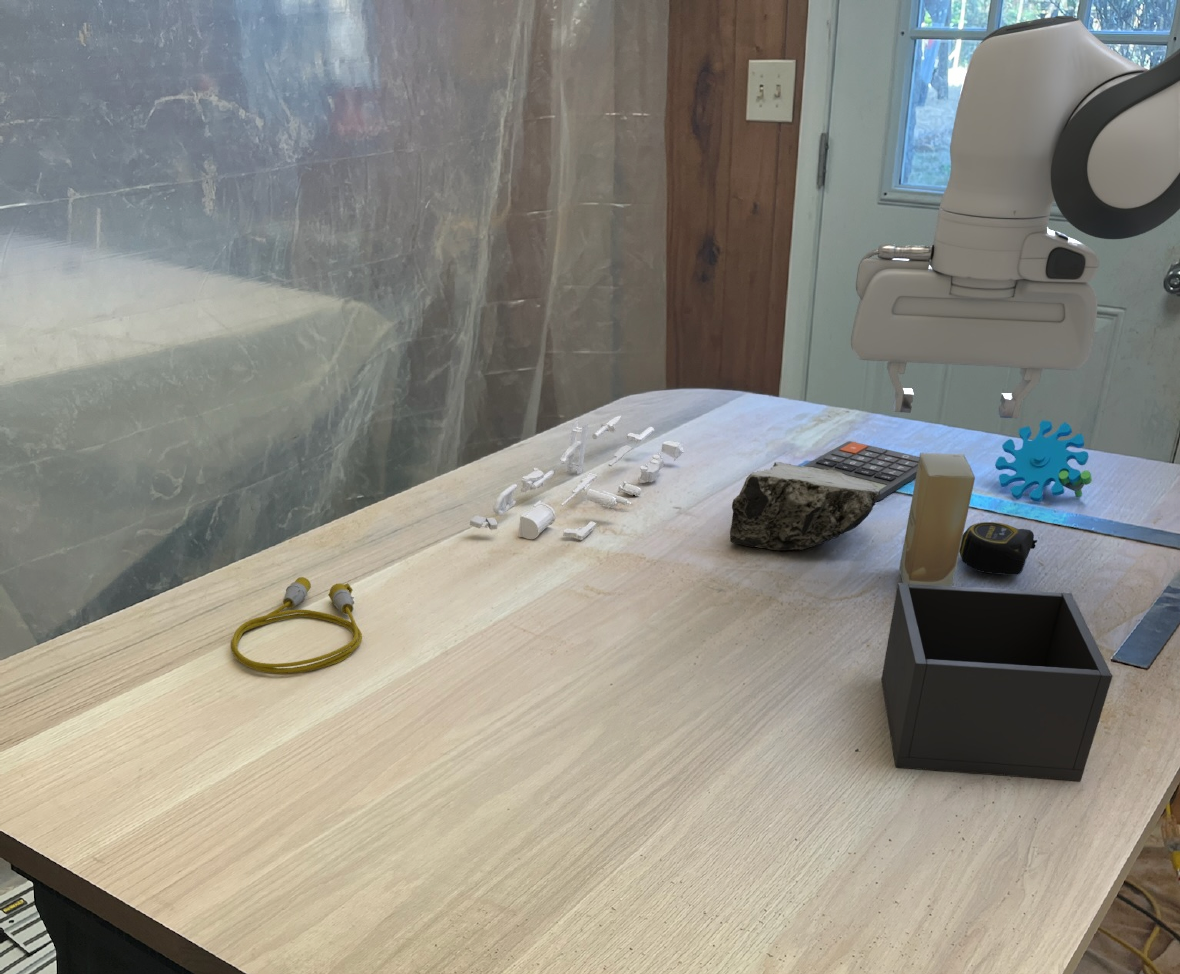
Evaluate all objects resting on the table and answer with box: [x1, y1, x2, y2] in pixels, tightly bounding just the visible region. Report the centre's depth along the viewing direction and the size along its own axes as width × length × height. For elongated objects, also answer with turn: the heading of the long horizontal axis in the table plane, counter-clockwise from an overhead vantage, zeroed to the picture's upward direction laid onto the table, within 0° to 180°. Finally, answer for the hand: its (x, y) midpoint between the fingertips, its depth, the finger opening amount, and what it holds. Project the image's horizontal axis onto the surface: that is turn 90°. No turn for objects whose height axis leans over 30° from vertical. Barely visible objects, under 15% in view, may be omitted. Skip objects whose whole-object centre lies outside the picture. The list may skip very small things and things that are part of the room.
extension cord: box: [230, 576, 363, 675], centre depth 104 cm, size 12×16×2 cm
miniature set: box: [469, 415, 685, 541], centre depth 132 cm, size 6×35×12 cm
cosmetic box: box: [898, 452, 976, 586], centre depth 111 cm, size 6×4×12 cm
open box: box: [881, 582, 1113, 782], centre depth 89 cm, size 14×14×9 cm
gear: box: [994, 420, 1093, 503], centre depth 134 cm, size 11×6×10 cm
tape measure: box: [959, 521, 1038, 576], centre depth 116 cm, size 7×7×4 cm
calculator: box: [802, 441, 920, 502], centre depth 139 cm, size 12×1×15 cm
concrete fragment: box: [729, 461, 880, 551], centre depth 121 cm, size 15×10×15 cm
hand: (954, 413), depth 104 cm, fingers open, 8 cm apart
